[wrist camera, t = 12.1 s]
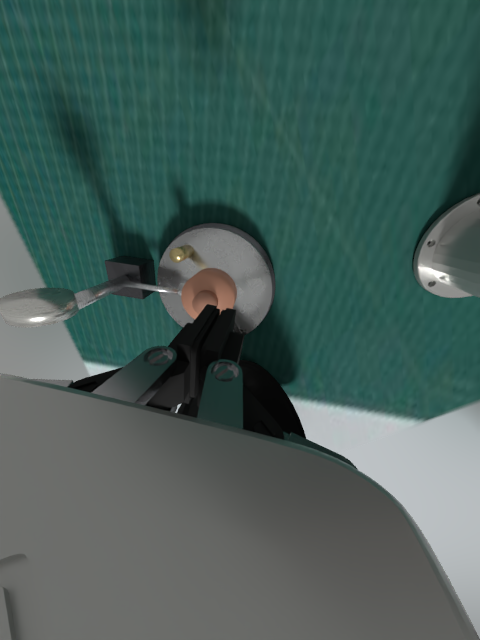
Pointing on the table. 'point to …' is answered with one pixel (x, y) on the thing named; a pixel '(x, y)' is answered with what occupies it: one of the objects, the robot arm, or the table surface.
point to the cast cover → (208, 291)
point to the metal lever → (81, 294)
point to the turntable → (227, 256)
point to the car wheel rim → (261, 398)
